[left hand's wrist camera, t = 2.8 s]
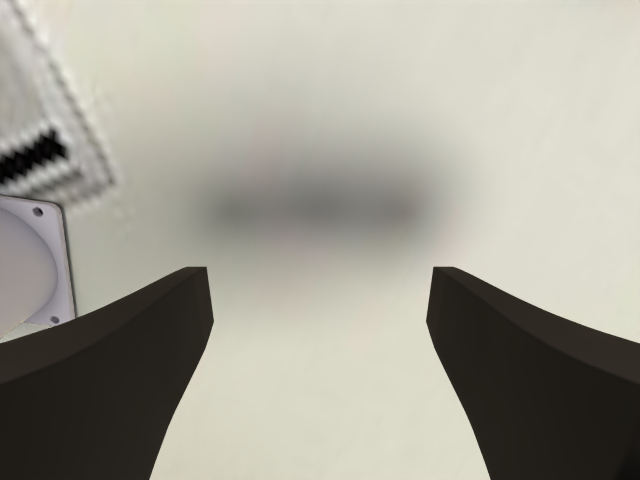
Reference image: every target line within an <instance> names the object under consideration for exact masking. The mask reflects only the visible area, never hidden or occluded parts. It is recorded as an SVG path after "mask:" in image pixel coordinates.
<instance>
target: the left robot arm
mask: <svg viewBox="0 0 640 480" xmlns="http://www.w3.org/2000/svg"><path fill="white" fill-rule="evenodd" d="M38 208H40V209H41V210H42V212H43V214H41V213H40V212H39V210H38ZM56 317H57V318H58V319H57V318H56ZM22 322H27V323H35V324H43V325H51V326H54V327H51V328H48V329H45V330H42V331H39V332H36V333H32V334H29V335H26V336H23V337H20V338H17V339H14V340H11V341H7V342H4V343H0V480H149V479H150V476H151V473H152V470H153V467H154V464H155V461H156V459H157V456H158V453H159V450H160V448H161V445H162V442H163V439H164V437H165V434H166V431H167V429H168V426H169V424H170V421H171V419H172V417H173V415H174V412H175V410H176V408H177V406H178V404H179V402H180V400H181V398H182V396H183V394H184V392H185V390H186V388H187V386H188V384H189V382H190V380H191V377H192V375H193V373H194V371H195V369H196V367H197V365H198V363H199V361H200V359H201V357H202V355H203V352H204V350H205V348H206V345H207V342H208V339H209V336H210V333H211V329H212V326H213V323H214V318H213V311H212V304H211V296H210V289H209V282H208V274H207V267H185V268H182V269H180V270H178V271H175V272H173V273H171V274H169V275H167V276H165V277H163V278H161V279H159V280H157V281H155V282H153V283H151V284H150V285H148V286H146V287H144V288H142V289H140V290H138V291H136V292H134V293H132V294H130V295H128V296H125V297H123V298H121V299H119V300H117V301H115V302H113V303H111V304H108V305H106V306H104V307H102V308H100V309H98V310H95V311H93V312H90V313H88V314H86V315H83V316H81V317H78V318H75V312H74V305H73V297H72V290H71V282H70V274H69V267H68V259H67V251H66V244H65V236H64V228H63V221H62V213H61V210H60V208H59V207H58V206H57V205H55V204H53V203H48V202H41V201H34V200H27V199H20V198H13V197H6V196H0V338H2V337H3V336H5V335H6V334H7V333H9V332H10V331H11V330H13V329H14V328H15V327H17V326H18V325H20V324H21V323H22ZM426 323H427V326H428V329H429V333H430V336H431V339H432V342H433V345H434V348H435V350H436V352H437V355H438V357H439V359H440V361H441V363H442V365H443V367H444V369H445V371H446V373H447V375H448V377H449V380H450V382H451V384H452V386H453V388H454V390H455V392H456V394H457V396H458V398H459V400H460V402H461V404H462V406H463V408H464V410H465V412H466V415H467V417H468V419H469V421H470V424H471V426H472V429H473V431H474V434H475V437H476V439H477V442H478V445H479V448H480V450H481V453H482V456H483V459H484V461H485V464H486V467H487V470H488V473H489V476H490V479H491V480H640V343H637V342H633V341H630V340H627V339H623V338H620V337H617V336H614V335H611V334H607V333H604V332H601V331H598V330H595V329H592V328H589V327H586V326H584V325H581V324H578V323H576V322H573V321H570V320H568V319H565V318H562V317H560V316H557V315H555V314H552V313H550V312H547V311H545V310H543V309H541V308H538V307H536V306H534V305H532V304H530V303H527V302H525V301H523V300H521V299H519V298H517V297H515V296H512V295H510V294H508V293H506V292H504V291H502V290H500V289H498V288H497V287H495V286H493V285H491V284H489V283H487V282H485V281H483V280H481V279H479V278H477V277H475V276H473V275H471V274H469V273H467V272H465V271H463V270H460V269H458V268H455V267H433V274H432V282H431V289H430V296H429V304H428V311H427V318H426Z"/></svg>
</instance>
